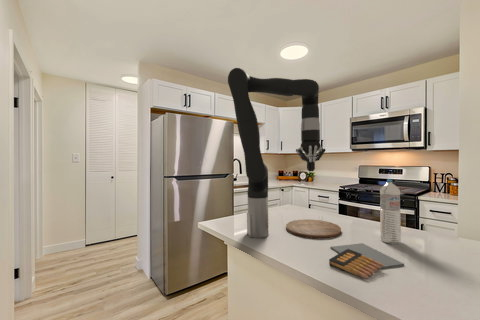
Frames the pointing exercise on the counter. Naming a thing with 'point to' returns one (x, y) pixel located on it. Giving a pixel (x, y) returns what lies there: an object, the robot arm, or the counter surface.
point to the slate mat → (370, 254)
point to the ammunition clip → (355, 263)
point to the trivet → (313, 229)
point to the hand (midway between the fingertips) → (310, 171)
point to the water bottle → (390, 213)
